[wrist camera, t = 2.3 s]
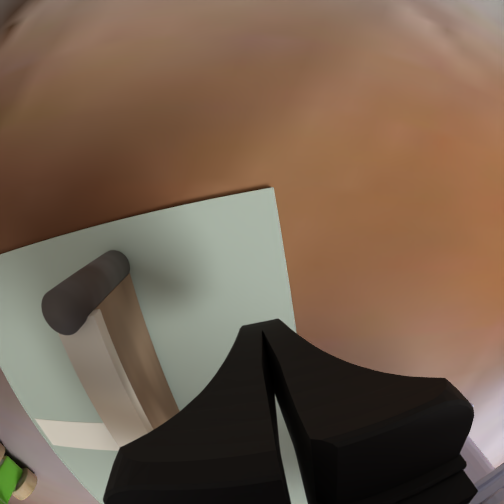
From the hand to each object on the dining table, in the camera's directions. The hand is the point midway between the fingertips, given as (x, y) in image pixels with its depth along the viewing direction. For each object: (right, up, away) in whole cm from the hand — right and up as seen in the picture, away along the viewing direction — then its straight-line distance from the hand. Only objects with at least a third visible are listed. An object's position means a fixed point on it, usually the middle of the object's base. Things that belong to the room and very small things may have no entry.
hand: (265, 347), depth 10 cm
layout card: (-6, -7, +5) cm, 11 cm away
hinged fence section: (-5, -2, +3) cm, 6 cm away
